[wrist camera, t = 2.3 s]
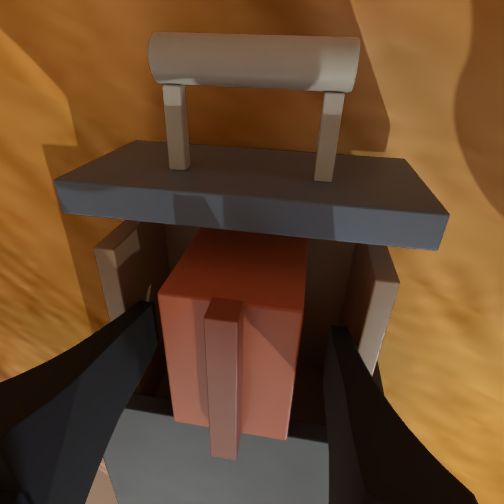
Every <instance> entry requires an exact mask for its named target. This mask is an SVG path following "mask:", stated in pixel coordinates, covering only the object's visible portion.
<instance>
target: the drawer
mask: <svg viewBox="0 0 504 504" xmlns="http://www.w3.org/2000/svg"><path fill="white" fill-rule="evenodd" d="M359 54H360V39H359V38H358V37H336V36H300V35H264V34H229V33H193V32H154V33H152V34H151V36H150V38H149V42H148V62H149V67H150V71H151V74H152V76H153V78H154V79H155V81H156V82H158V83H160V84H164V85H162V90H163V101H164V112H165V123H166V134H167V142H155V141H141V140H135V141H133V142H131V143H129V144H127V145H124V146H122V147H120V148H118V149H116V150H114V151H112V152H110V153H108V154H106V155H104V156H102V157H100V158H98V159H95V160H93V161H91V162H89V163H87V164H85V165H83V166H81V167H79V168H77V169H75V170H73V171H71V172H69V173H66V174H64V175H62V176H60V177H58V178H56V179H54V184H55V187H56V191H57V195H58V199H59V203H60V206H61V210H62V213H64V214H74V215H84V216H94V217H104V218H114V219H124V220H125V221H123V222H122V223H121V224H120V225H119V226H118V227H117V228H115V229H114V230H113V231H112V232H111V233H110V234H109V235H107V236H106V237H105V238H104V239H103V240H102V241H101V242H99V243H98V244H97V245H96V246H95V247H94V254H95V258H96V262H97V267H98V271H99V275H100V280H101V284H102V288H103V293H104V297H105V302H106V306H107V310H108V315H109V319H110V322H111V321H113V320H114V319H116V318H117V317H118V316H120V315H121V314H122V313H124V312H125V311H126V310H128V309H129V308H131V307H132V306H133V305H135V304H136V303H138V302H139V301H148V302H154V304H155V311H156V318H157V325H158V332H159V341H158V344H157V347H156V349H155V352H154V354H153V357H152V359H151V361H150V363H149V365H148V367H147V369H146V371H145V373H144V374H143V376H142V378H141V380H140V382H139V383H138V385H137V387H136V389H135V390H134V392H133V393H135V394H141V395H147V396H153V397H159V398H165V399H171V392H170V385H169V377H168V370H167V362H166V355H165V347H164V340H163V332H162V325H161V317H160V310H159V302H158V292H159V290H160V289H161V287H162V286H163V284H164V283H165V281H166V280H167V278H168V277H169V275H170V274H171V272H172V271H173V269H174V268H175V266H176V265H177V263H178V262H179V260H180V259H181V257H182V255H183V254H184V252H185V251H186V249H187V248H188V246H189V245H190V243H191V242H192V240H193V239H194V237H195V236H196V234H197V233H198V231H199V230H200V228H201V227H204V228H214V229H224V230H233V231H243V232H253V233H263V234H273V235H283V236H293V237H303V238H308V243H307V262H306V280H305V298H304V314H303V322H302V329H301V337H300V344H299V352H298V359H297V367H296V374H295V382H294V389H293V397H292V404H291V412H290V419H292V420H298V421H304V422H310V423H316V424H322V425H326V414H325V403H324V392H323V366H324V357H325V352H326V347H327V341H328V336H329V331H330V325H335V326H342V327H347V328H348V329H349V331H350V334H351V336H352V339H353V341H354V343H355V345H356V347H357V349H358V352H359V354H360V356H361V357H362V359H363V361H364V363H365V365H366V367H367V368H368V370H369V372H370V374H371V376H373V373H374V369H375V366H376V362H377V359H378V356H379V352H380V349H381V345H382V342H383V339H384V335H385V332H386V329H387V325H388V322H389V318H390V315H391V312H392V308H393V305H394V301H395V298H396V295H397V291H398V288H399V284H400V281H399V278H398V275H397V273H396V270H395V267H394V264H393V261H392V259H391V256H390V253H389V250H388V247H387V246H393V247H403V248H413V249H423V250H433V251H437V250H438V248H439V245H440V243H441V240H442V237H443V234H444V231H445V228H446V225H447V222H448V219H449V216H450V214H449V213H448V211H447V210H446V209H445V208H444V206H443V205H442V204H441V203H440V201H439V200H438V199H437V198H436V197H435V195H434V194H433V193H432V192H431V190H430V189H429V188H428V187H427V186H426V184H425V183H424V182H423V181H422V179H421V178H420V177H419V176H418V174H417V173H416V172H415V171H414V170H413V168H412V167H411V166H410V165H409V163H408V162H407V161H406V160H405V159H399V158H384V157H370V156H356V155H341V154H336V151H337V144H338V138H339V131H340V124H341V117H342V111H343V104H344V97H345V94H344V92H348V93H349V92H351V91H352V89H353V87H354V83H355V79H356V74H357V68H358V62H359ZM185 85H201V86H222V87H243V88H264V89H285V90H306V91H324V95H323V103H322V112H321V120H320V128H319V136H318V145H317V153H313V152H298V151H284V150H270V149H255V148H241V147H227V146H212V145H198V144H189V135H188V119H187V102H186V86H185Z"/></svg>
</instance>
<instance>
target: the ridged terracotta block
mask: <svg viewBox="0 0 504 504" xmlns="http://www.w3.org/2000/svg"><path fill="white" fill-rule="evenodd" d="M307 243H308V238H303V237H293V236H283V235H273V234H263V233H253V232H243V231H233V230H224V229H214V228H204V227H201V228H200V230H199V231H198V233H197V234H196V236H195V237H194V239H193V240H192V242H191V243H190V245H189V246H188V248H187V249H186V251H185V252H184V254H183V255H182V257H181V259H180V260H179V262H178V263H177V265H176V266H175V268H174V269H173V271H172V272H171V274H170V275H169V277H168V278H167V280H166V281H165V283H164V284H163V286H162V287H161V289H160V290H159V292H158V302H159V310H160V317H161V325H162V332H163V340H164V347H165V355H166V362H167V370H168V377H169V385H170V392H171V400H172V407H173V415H174V420H175V421H177V422H183V423H189V424H194V425H200V426H206V427H209V435H210V454H211V456H214V457H220V458H225V459H231V460H236V459H237V454H238V449H239V444H240V439H241V433H246V434H252V435H257V436H263V437H269V438H275V439H280V440H286V439H287V434H288V427H289V419H290V412H291V404H292V397H293V389H294V382H295V374H296V367H297V359H298V352H299V344H300V337H301V329H302V322H303V314H304V298H305V280H306V262H307Z"/></svg>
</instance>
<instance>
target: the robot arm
mask: <svg viewBox="0 0 504 504" xmlns="http://www.w3.org/2000/svg"><path fill="white" fill-rule="evenodd" d="M158 341H159V332H158V325H157V318H156V311H155V304H154V302H148V301H139V302H138V303H136V304H135V305H133V306H132V307H131V308H129V309H128V310H126V311H125V312H124V313H122V314H121V315H120V316H118V317H117V318H116V319H114V320H113V321H111V322H110V323H109V324H107V325H106V326H104V327H103V328H102V329H100V330H99V331H97V332H96V333H94V334H93V335H91V336H90V337H88V338H86V339H85V340H83V341H82V342H80V343H79V344H77V345H76V346H74V347H72V348H71V349H69V350H67V351H65V352H64V353H62V354H60V355H58V356H56V357H55V358H53V359H51V360H49V361H47V362H45V363H43V364H41V365H39V366H37V367H35V368H32V369H30V370H28V371H26V372H24V373H22V374H20V375H17V376H15V377H13V378H10V379H8V380H5V381H3V382H0V504H85V502H86V499H87V497H88V494H89V491H90V489H91V486H92V483H93V481H94V478H95V475H96V473H97V470H98V468H99V465H100V463H101V460H102V458H103V455H104V453H105V451H106V448H107V446H108V443H109V441H110V439H111V436H112V434H113V432H114V429H115V427H116V425H117V423H118V420H119V418H120V416H121V414H122V412H123V410H124V408H125V407H126V405H127V403H128V401H129V399H130V398H131V396H132V394H133V392H134V390H135V389H136V387H137V385H138V383H139V382H140V380H141V378H142V376H143V374H144V373H145V371H146V369H147V367H148V365H149V363H150V361H151V359H152V357H153V354H154V352H155V349H156V347H157V344H158ZM323 392H324V403H325V414H326V425H327V436H328V449H329V504H478V502H477V500H476V498H475V496H474V494H473V493H472V492H471V491H469V490H468V489H467V488H466V487H465V486H464V485H463V484H462V483H461V482H460V481H459V480H457V479H456V478H455V477H454V476H453V475H452V474H451V473H450V472H449V471H448V470H447V469H446V468H445V467H444V466H443V465H442V464H441V463H440V462H439V461H438V460H437V459H436V458H435V457H434V456H433V455H432V454H431V453H430V452H429V451H428V450H427V449H426V448H425V446H424V445H423V444H422V443H421V442H420V441H419V440H418V439H417V437H416V436H415V435H414V434H413V433H412V432H411V431H410V429H409V428H408V427H407V426H406V425H405V423H404V422H403V421H402V419H401V418H400V417H399V416H398V414H397V413H396V412H395V410H394V409H393V408H392V406H391V405H390V403H389V402H388V401H387V399H386V398H385V396H384V395H383V393H382V392H381V390H380V389H379V387H378V385H377V384H376V382H375V381H374V379H373V377H372V376H371V374H370V372H369V370H368V368H367V367H366V365H365V363H364V361H363V359H362V357H361V356H360V354H359V352H358V349H357V347H356V345H355V343H354V341H353V339H352V336H351V334H350V331H349V329H348V328H347V327H342V326H335V325H330V331H329V336H328V341H327V347H326V352H325V357H324V366H323Z"/></svg>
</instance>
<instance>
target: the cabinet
mask: <svg viewBox="0 0 504 504" xmlns="http://www.w3.org/2000/svg"><path fill="white" fill-rule="evenodd" d="M372 377H373V379H374V381H375V382H376V384H377V385H378V387H379V389H380V390H381V392H382V393H383V395H384V392H383V387H382V382H381V376H380V371H379V366H378V361H377V362H376V366H375V369H374V373H373V376H372ZM103 459H104V462H105V465H106V468H107V471H108V474H109V477H110V479H111V483H112V486H113V489H114V492H115V495H116V499H117V502H118V504H329V449H328V436H327V425H322V424H316V423H310V422H304V421H298V420H292V419H289V427H288V434H287V439H286V440H280V439H275V438H269V437H263V436H257V435H252V434H246V433H241V439H240V444H239V449H238V454H237V459H236V460H231V459H225V458H220V457H214V456H211V454H210V435H209V427H206V426H200V425H194V424H189V423H183V422H177V421H175V420H174V415H173V407H172V400H171V399H165V398H159V397H153V396H147V395H141V394H135V393H133V394H132V396H131V398H130V399H129V401H128V403H127V405H126V407H125V408H124V410H123V412H122V414H121V416H120V418H119V420H118V423H117V425H116V427H115V429H114V432H113V434H112V436H111V439H110V441H109V443H108V446H107V448H106V451H105V453H104V455H103Z"/></svg>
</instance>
